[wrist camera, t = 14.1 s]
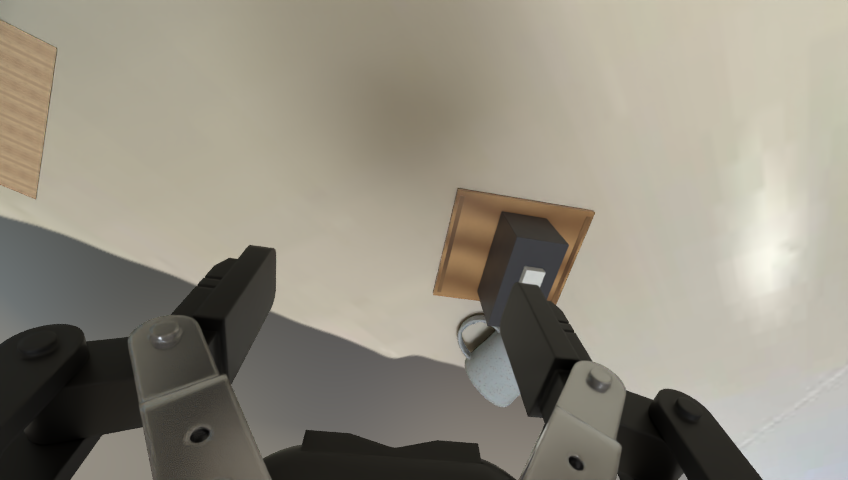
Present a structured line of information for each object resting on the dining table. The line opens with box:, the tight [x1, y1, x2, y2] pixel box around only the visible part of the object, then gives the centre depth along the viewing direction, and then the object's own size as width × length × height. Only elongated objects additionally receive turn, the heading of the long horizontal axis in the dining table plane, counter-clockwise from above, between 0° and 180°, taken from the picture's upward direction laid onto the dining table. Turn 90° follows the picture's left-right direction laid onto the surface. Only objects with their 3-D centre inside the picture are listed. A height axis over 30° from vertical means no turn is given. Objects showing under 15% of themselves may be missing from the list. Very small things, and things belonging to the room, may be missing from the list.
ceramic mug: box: [457, 315, 520, 407], centre depth 47 cm, size 11×8×8 cm
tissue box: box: [477, 211, 569, 327], centre depth 41 cm, size 11×5×7 cm, turn 169°
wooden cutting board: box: [433, 188, 595, 305], centre depth 44 cm, size 14×16×1 cm
